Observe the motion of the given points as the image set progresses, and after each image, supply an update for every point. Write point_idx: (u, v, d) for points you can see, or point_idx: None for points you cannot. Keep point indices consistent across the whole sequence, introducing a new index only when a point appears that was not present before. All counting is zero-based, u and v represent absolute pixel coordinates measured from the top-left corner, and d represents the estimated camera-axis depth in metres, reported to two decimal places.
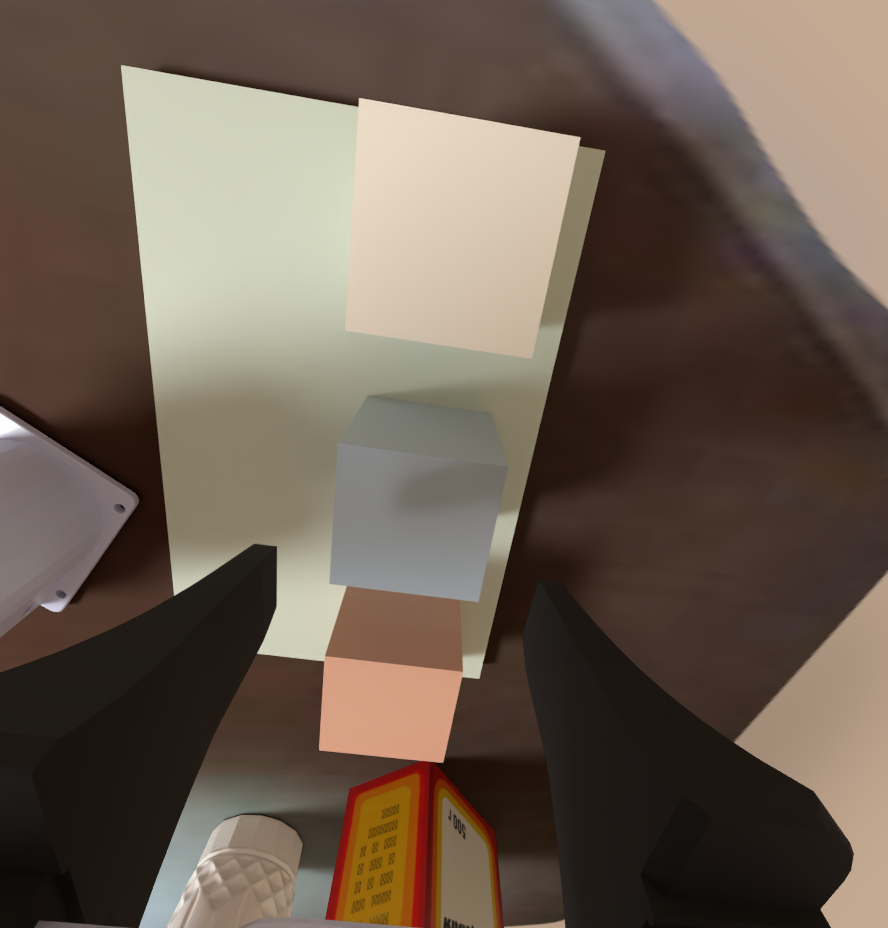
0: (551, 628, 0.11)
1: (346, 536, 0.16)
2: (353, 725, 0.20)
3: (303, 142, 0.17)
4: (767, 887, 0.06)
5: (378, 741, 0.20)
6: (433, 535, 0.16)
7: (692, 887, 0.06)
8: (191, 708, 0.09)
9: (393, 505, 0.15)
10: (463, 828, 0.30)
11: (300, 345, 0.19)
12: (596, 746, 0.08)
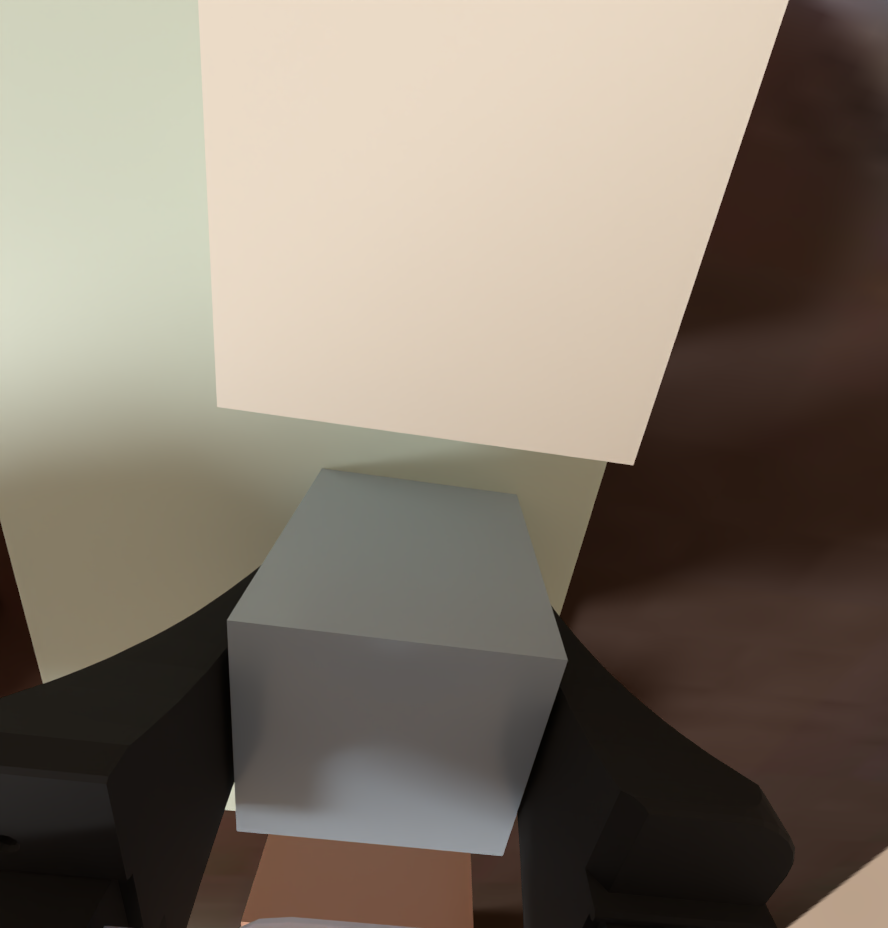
0: None
1: (260, 765, 0.09)
2: None
3: (188, 40, 0.09)
4: (710, 882, 0.06)
5: None
6: (421, 764, 0.09)
7: (634, 882, 0.06)
8: None
9: (345, 720, 0.08)
10: None
11: (210, 392, 0.12)
12: (553, 741, 0.08)
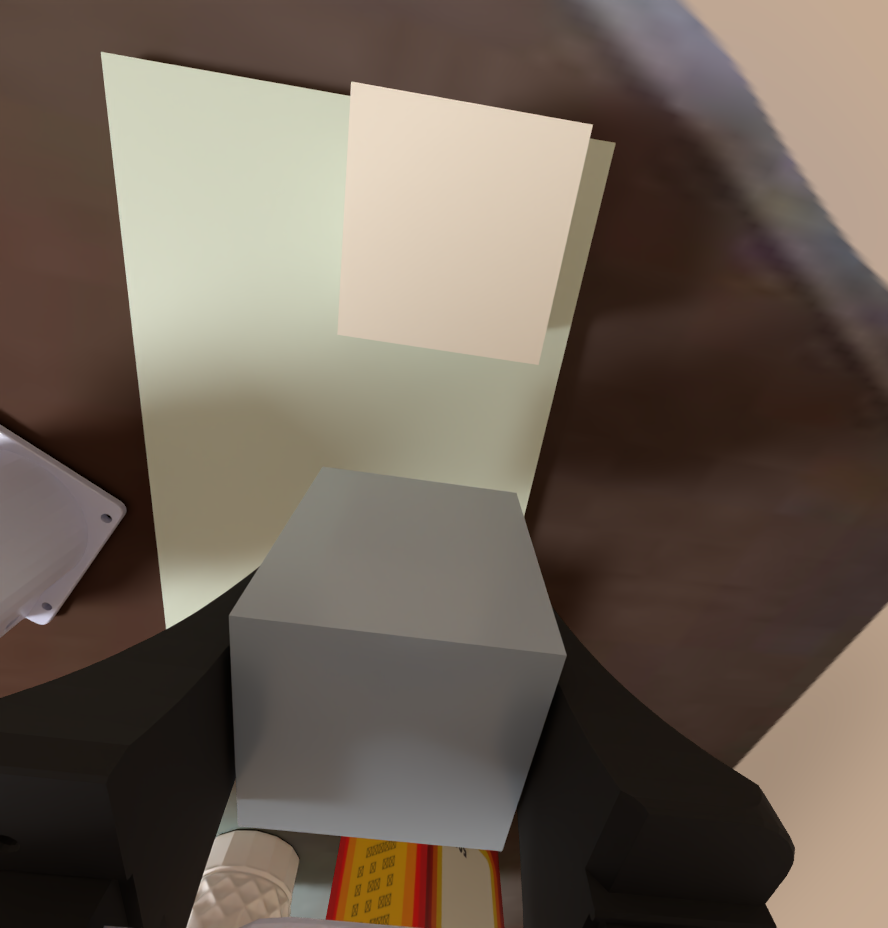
0: None
1: (261, 760, 0.09)
2: None
3: (295, 134, 0.16)
4: (710, 882, 0.06)
5: None
6: (421, 759, 0.09)
7: (634, 882, 0.06)
8: None
9: (345, 715, 0.08)
10: None
11: (293, 349, 0.18)
12: (553, 741, 0.08)
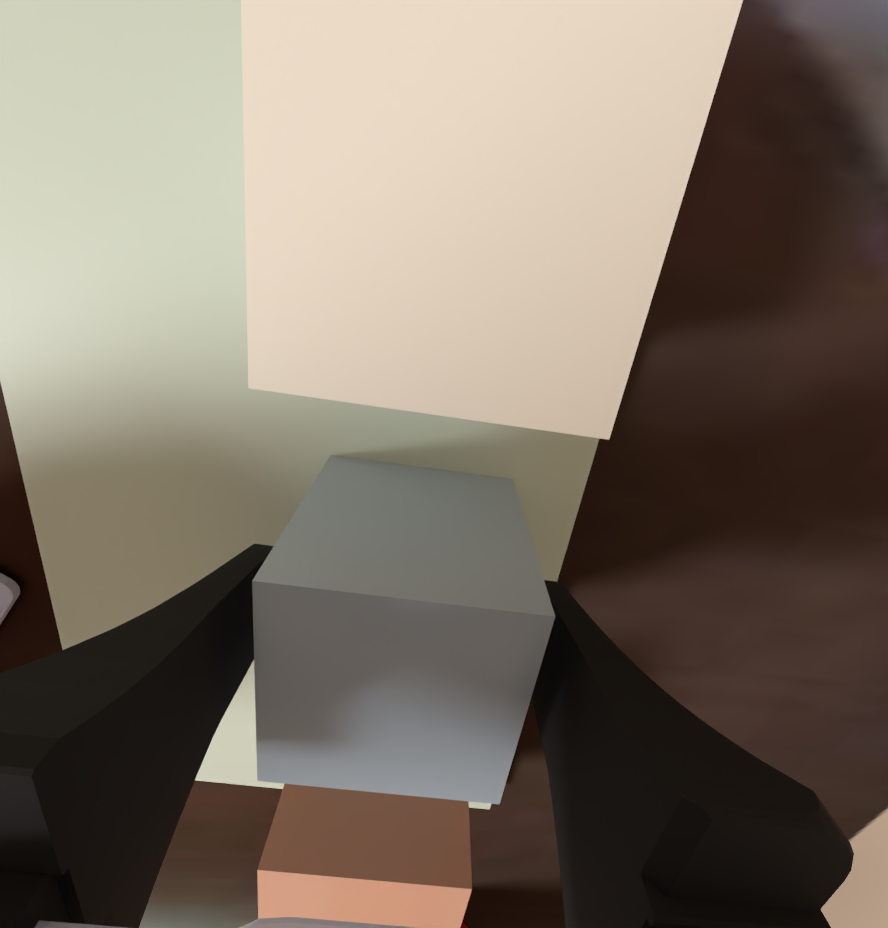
0: None
1: (279, 717, 0.10)
2: None
3: (212, 61, 0.10)
4: (766, 886, 0.06)
5: None
6: (425, 716, 0.09)
7: (692, 887, 0.06)
8: (191, 708, 0.09)
9: (356, 674, 0.09)
10: None
11: (227, 383, 0.13)
12: (596, 745, 0.08)
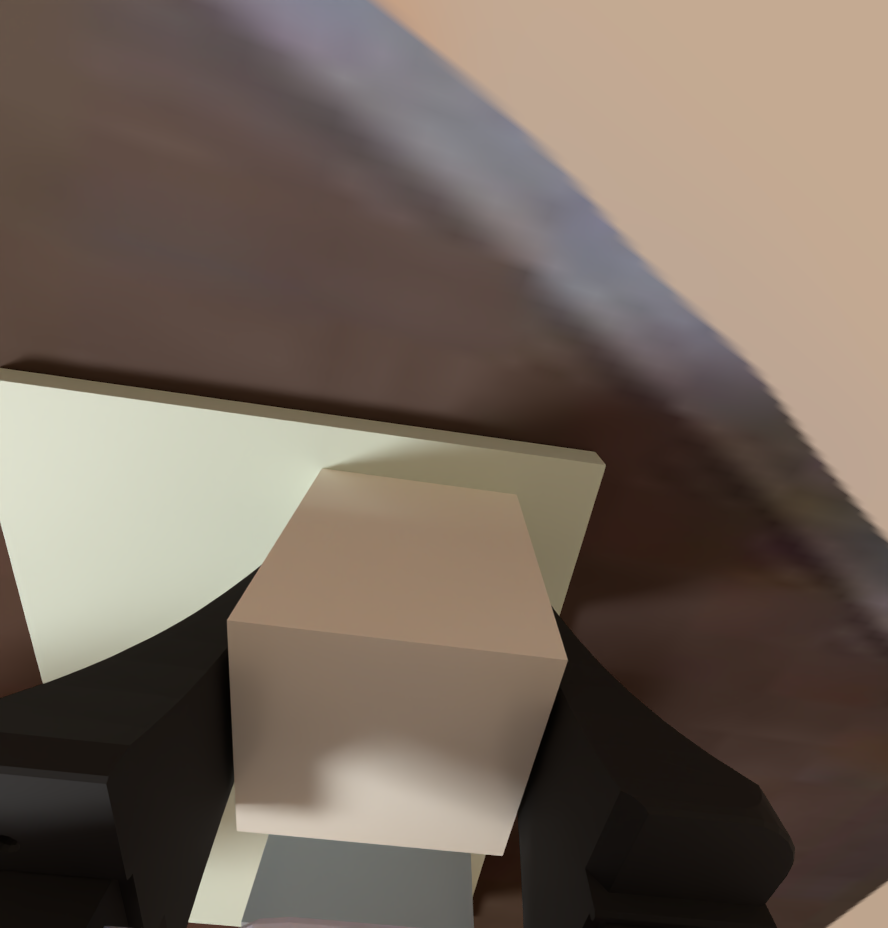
0: None
1: None
2: None
3: (210, 455, 0.13)
4: (710, 882, 0.06)
5: None
6: None
7: (634, 882, 0.06)
8: None
9: None
10: None
11: None
12: (553, 741, 0.08)
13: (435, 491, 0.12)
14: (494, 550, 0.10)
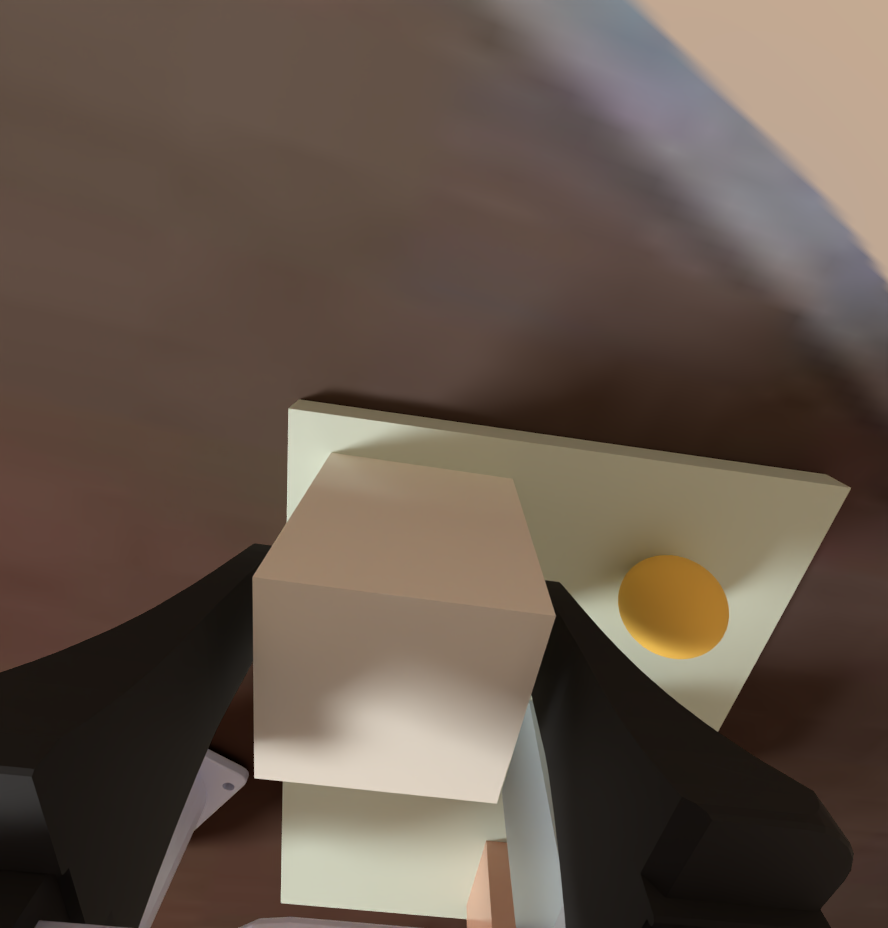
0: None
1: None
2: None
3: None
4: (767, 887, 0.06)
5: None
6: None
7: (692, 887, 0.06)
8: (191, 708, 0.09)
9: None
10: None
11: None
12: (596, 745, 0.08)
13: (437, 475, 0.13)
14: (491, 525, 0.11)
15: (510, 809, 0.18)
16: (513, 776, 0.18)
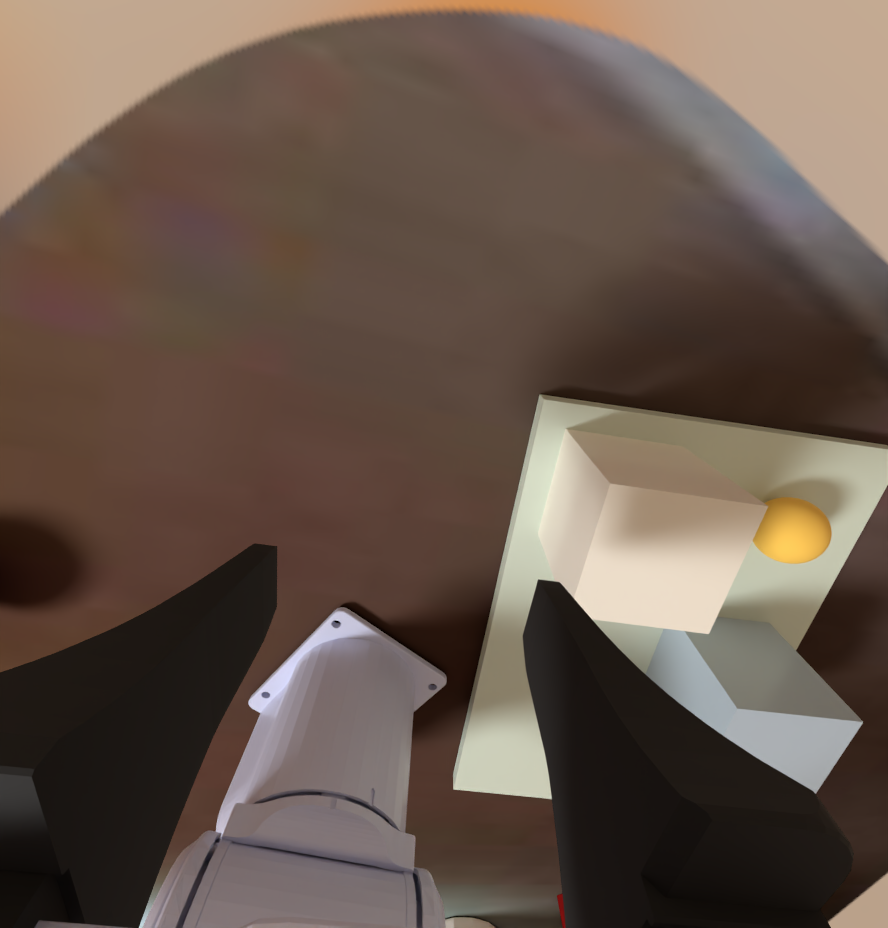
0: (551, 628, 0.11)
1: None
2: None
3: None
4: (767, 887, 0.06)
5: None
6: (788, 764, 0.20)
7: (692, 887, 0.06)
8: (191, 708, 0.09)
9: (764, 746, 0.20)
10: None
11: None
12: (596, 745, 0.08)
13: (638, 442, 0.20)
14: (696, 468, 0.18)
15: None
16: (656, 669, 0.25)
